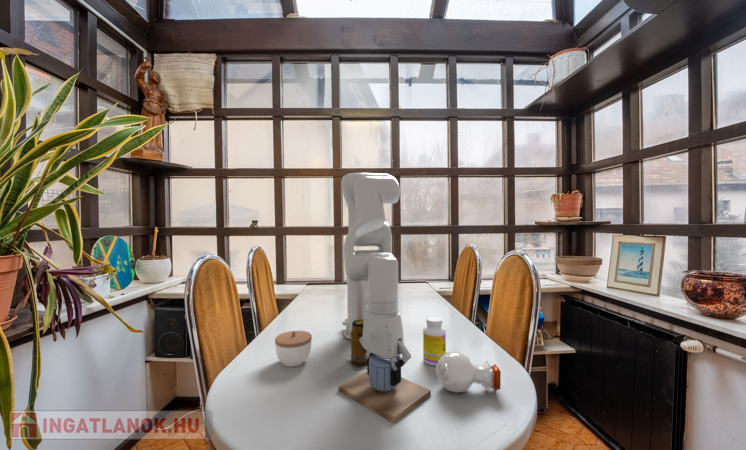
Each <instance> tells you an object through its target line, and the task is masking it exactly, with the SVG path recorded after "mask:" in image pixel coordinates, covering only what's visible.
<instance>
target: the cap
mask: <svg viewBox="0 0 746 450" xmlns="http://www.w3.org/2000/svg"><path fill="white" fill-rule="evenodd" d="M395 361H396V363H397V360H396V357H395ZM391 369H393V368H392V365H391V362H390V360H389V359H385V358H383V357H380V356H378V355H375V354H372V355H371V356H370V357H369V384H370V385H371V387H373V388H375V389H377V390H391V389H393V388H395V387H396V386H397V385H398V384H397V385H395V386H394V387H393V386H391V384H390V370H391Z"/></svg>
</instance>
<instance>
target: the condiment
mask: <svg viewBox="0 0 746 450" xmlns="http://www.w3.org/2000/svg"><path fill="white" fill-rule="evenodd" d="M363 324H364V319H358V320H354V321H353V323H352V331H351V340H350V357H346V358H345V359H346V361H347V362H348V363H349V364H350V365H351V366H352V367H353V368H354V369H355V371H356V370H363V369H367V358H366V357H365V352H364V350H363V346H362V345H361V343H360V341H359V339H360V338H361V337H362V336H363Z"/></svg>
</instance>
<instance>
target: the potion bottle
mask: <svg viewBox="0 0 746 450" xmlns="http://www.w3.org/2000/svg"><path fill="white" fill-rule="evenodd" d="M435 372H436V376H437V379H438V382H439V383H440V384H441V386H442V387H443V388H444V389H445V390H447V391H449V392H450V393H452V394H457V393H458V394H459V393H466V392H468V390H469V389H470V388H471V386H473V384H475V385H481V386H482V388H483V389H484V390H485V392H486V391H489V390H492V389H493V390H494V392H495V391H499V390H501V372H502V371H501V370H500V368H499V367H498V365H497V363H495V364H493V365H490V363H489V361H488V360H485V361H484V362H483V363H482V364H473V363H472V362H471V360H470V359H469V357H468V356H467V355H465V354H463V353H461V352H460V351H458V350H453V351H447V352H446V353H444V355H443V356H442V357H441V358H440V359H439V361H438V362H437V366H435Z"/></svg>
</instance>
